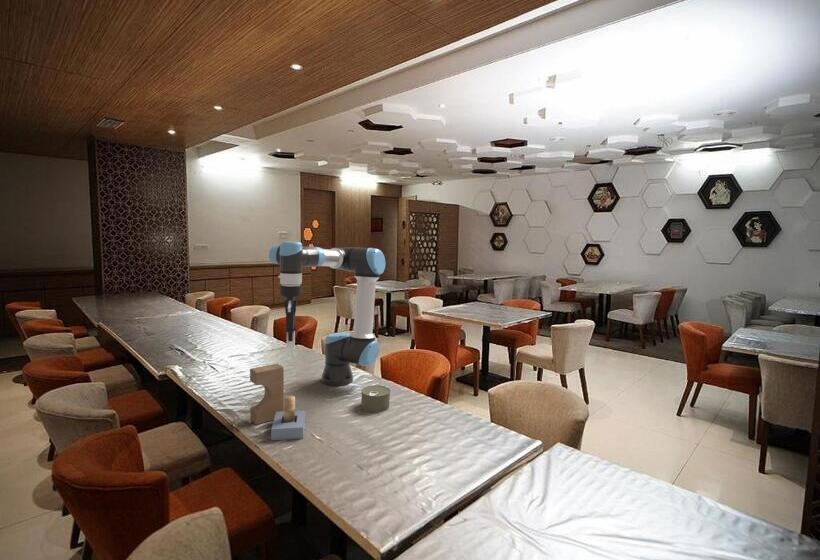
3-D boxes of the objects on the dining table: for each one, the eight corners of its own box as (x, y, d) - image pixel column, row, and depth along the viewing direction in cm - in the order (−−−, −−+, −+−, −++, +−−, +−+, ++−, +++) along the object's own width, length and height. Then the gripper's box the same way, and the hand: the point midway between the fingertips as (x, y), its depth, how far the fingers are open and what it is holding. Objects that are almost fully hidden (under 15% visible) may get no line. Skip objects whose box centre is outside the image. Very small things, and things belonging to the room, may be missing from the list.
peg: (295, 427, 151) (295, 395, 150) (294, 432, 147) (294, 399, 146) (283, 427, 150) (283, 395, 149) (282, 432, 146) (282, 400, 145)
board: (305, 420, 156) (305, 410, 156) (303, 438, 143) (303, 427, 142) (276, 421, 154) (276, 411, 154) (271, 440, 141) (271, 429, 140)
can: (393, 403, 176) (394, 387, 175) (384, 414, 164) (384, 397, 164) (367, 399, 179) (367, 383, 178) (356, 410, 167) (356, 393, 167)
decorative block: (255, 425, 151) (254, 372, 149) (249, 419, 155) (249, 368, 153) (284, 417, 158) (284, 366, 156) (278, 412, 163) (278, 363, 160)
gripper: (281, 282, 153) (281, 344, 156) (277, 287, 141) (277, 354, 143) (302, 282, 155) (302, 344, 157) (300, 287, 142) (300, 354, 145)
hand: (290, 349), depth 150 cm, fingers closed
